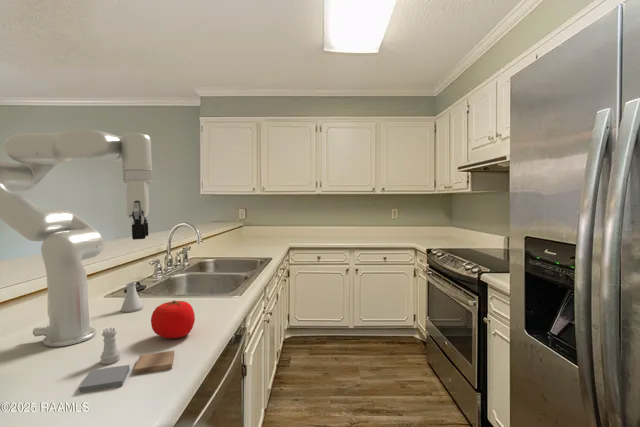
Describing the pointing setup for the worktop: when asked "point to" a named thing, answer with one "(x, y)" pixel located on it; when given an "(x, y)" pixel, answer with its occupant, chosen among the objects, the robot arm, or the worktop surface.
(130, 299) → the flask
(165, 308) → the tomato
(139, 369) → the walnut coaster
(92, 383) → the charcoal coaster
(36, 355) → the worktop surface
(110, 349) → the rook chess piece
